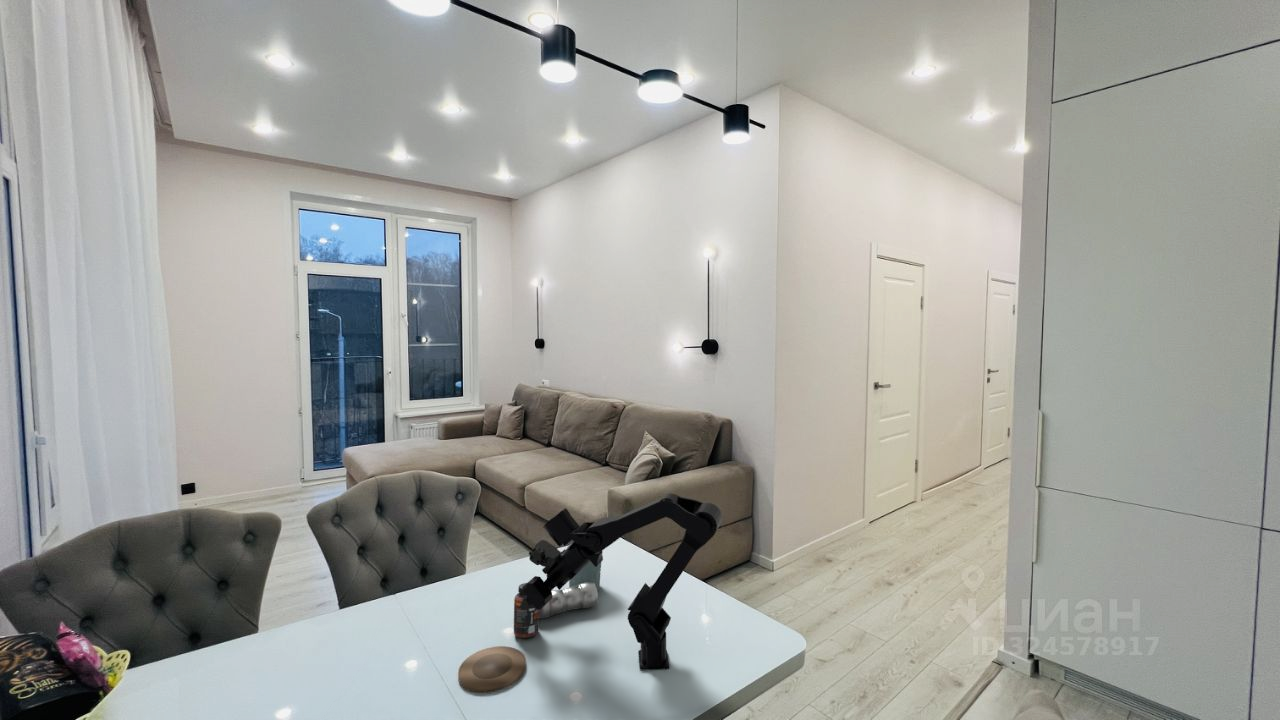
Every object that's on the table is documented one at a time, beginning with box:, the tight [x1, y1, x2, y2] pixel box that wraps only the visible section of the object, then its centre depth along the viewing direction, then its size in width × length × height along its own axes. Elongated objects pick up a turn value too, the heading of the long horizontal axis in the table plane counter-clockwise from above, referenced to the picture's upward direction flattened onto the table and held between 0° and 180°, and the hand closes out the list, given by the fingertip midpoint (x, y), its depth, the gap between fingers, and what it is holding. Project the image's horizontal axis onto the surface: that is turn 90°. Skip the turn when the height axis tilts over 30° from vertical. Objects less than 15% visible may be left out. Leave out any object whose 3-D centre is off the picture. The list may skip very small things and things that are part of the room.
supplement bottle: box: [513, 582, 540, 639], centre depth 125 cm, size 6×6×11 cm
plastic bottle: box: [539, 582, 599, 619], centre depth 134 cm, size 6×7×20 cm
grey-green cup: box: [566, 543, 604, 592], centre depth 147 cm, size 10×10×12 cm
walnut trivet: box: [457, 645, 527, 694], centre depth 111 cm, size 14×14×1 cm
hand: (531, 598), depth 123 cm, fingers open, 9 cm apart
